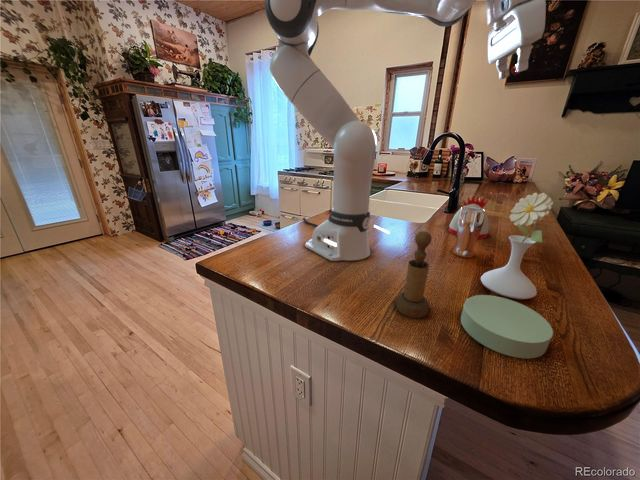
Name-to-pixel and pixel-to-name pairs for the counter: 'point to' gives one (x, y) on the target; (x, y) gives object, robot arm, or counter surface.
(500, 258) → the counter surface
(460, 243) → the beer glass
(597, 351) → the counter surface
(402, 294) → the mortar and pestle
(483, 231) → the kitchen timer
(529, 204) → the flower in vase
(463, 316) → the disc
